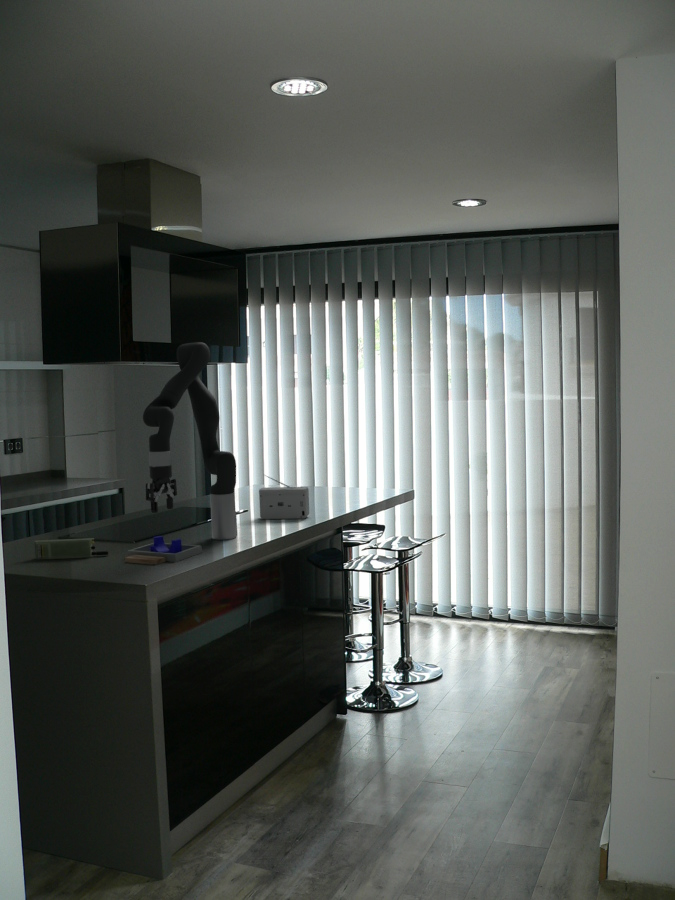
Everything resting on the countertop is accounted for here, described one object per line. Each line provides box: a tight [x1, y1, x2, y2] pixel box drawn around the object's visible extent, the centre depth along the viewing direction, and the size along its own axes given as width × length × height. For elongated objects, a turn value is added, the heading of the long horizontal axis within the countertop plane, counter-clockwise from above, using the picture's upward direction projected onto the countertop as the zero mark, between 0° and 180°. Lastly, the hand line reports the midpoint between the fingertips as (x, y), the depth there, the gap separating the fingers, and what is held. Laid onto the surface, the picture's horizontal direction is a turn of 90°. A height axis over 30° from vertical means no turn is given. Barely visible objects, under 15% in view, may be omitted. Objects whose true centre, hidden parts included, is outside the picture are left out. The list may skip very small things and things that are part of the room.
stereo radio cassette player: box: [258, 474, 310, 520], centre depth 366 cm, size 21×8×20 cm, turn 84°
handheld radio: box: [34, 537, 109, 560], centre depth 299 cm, size 7×3×25 cm
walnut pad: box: [124, 555, 166, 565], centre depth 287 cm, size 5×13×2 cm, turn 64°
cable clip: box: [150, 535, 182, 554], centre depth 297 cm, size 12×4×6 cm, turn 48°
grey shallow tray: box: [126, 542, 203, 563], centre depth 297 cm, size 15×20×2 cm
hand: (162, 510), depth 296 cm, fingers open, 8 cm apart
